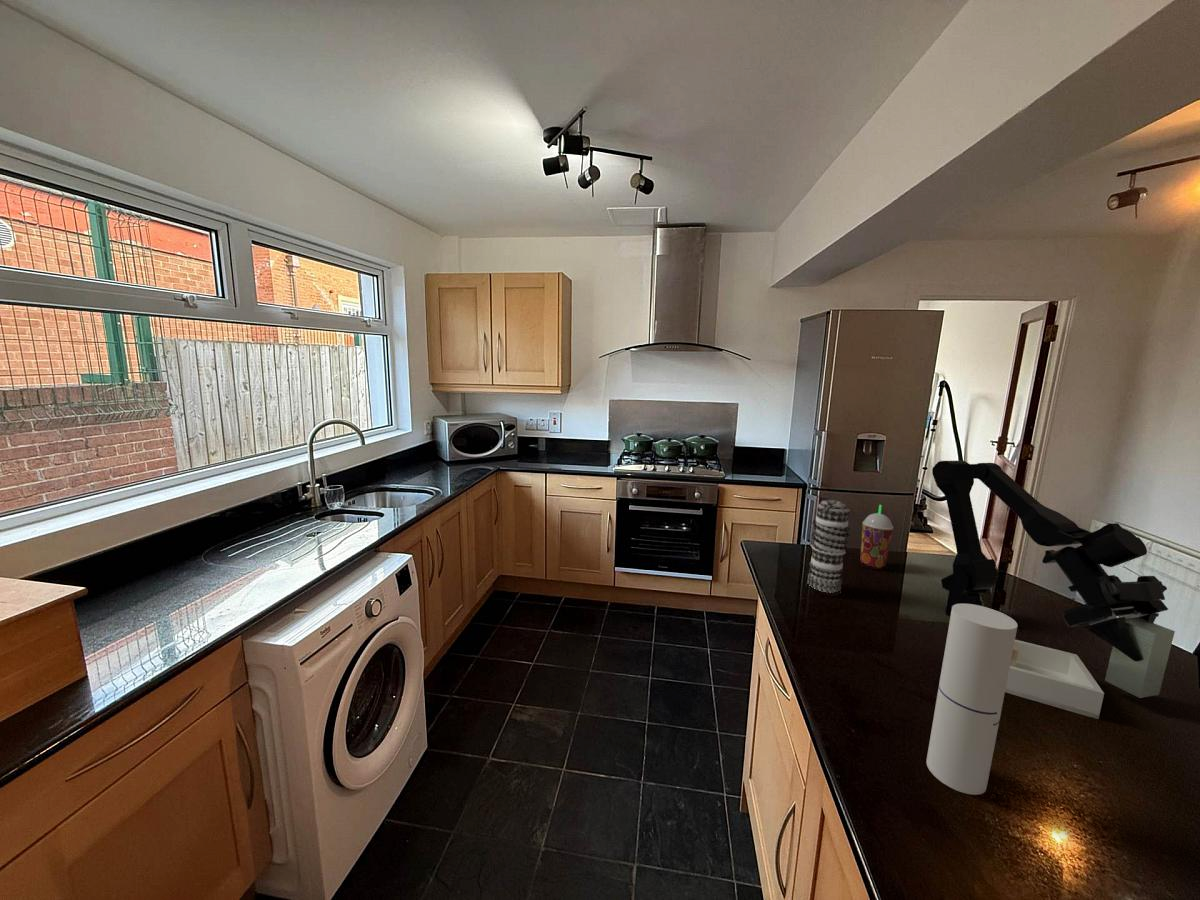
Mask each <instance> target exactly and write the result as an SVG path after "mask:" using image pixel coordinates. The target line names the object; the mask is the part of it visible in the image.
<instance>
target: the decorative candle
mask: <svg viewBox="0 0 1200 900" xmlns="http://www.w3.org/2000/svg"><path fill="white" fill-rule="evenodd" d="M816 507H817V512H816V513H817V514H816V516H815V519H814V520H813V521H812V525H813V527H812V530H811V531H812V534H811V538H812V540H811V549H812V555H811V557H810V558H811V559H810V562H809V563H808V564H809V568H808V572H809V573H808V574H807V580H806V582H807V584H809V586H811V587H812V588H814V589H816V590H819V591H821V592H826V593H828V592H829V593H834V592H838V591H840V592H841V589H842V584H843V580H842V578H843V576H844V575H843V572H844V567H843V566H844V562H843V561H844V560H843V559H844V555H845V554H846V552H847V551H846V549H847V548H848V547H847V546H846V545H847V544H848V542H849V541H848V540H847V539H846V538H848V537H849V536H850V534H849V533H848V532H850V530H851V529H850V527H849V515H850V514H849V513H850V511H851V509H850V508H849V507H848V506H847V504H846V503H845V502H844V501H840V500H835V499H823V500H822V501H820V502H819V503H817V504H816Z"/></svg>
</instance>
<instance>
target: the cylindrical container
mask: <svg viewBox="0 0 1200 900" xmlns="http://www.w3.org/2000/svg"><path fill="white" fill-rule="evenodd" d="M948 623H949V624H948V631H947V635H946V642H945V648H944V655H943V659H942V664H941V665H942V666H941V672H940V677H939V684H938V690H937V694H936V701H935V708H934V713H933V718H932V719H933V720H932V726H931V732H930V738H929V744H928V750H927V755H926V766H927V768H928V770H929V772H930V773H931V774H932V775H933V776H934V777H935V778H936V779H937V780H938V781H940V782H941V783H942V784H944V785H945V786H948V787H949V788H951V789H952V790H955V791H957V792H960V793H963V794H967V795H971V796H972V795H973V796H977V795H982V794H984V793H985V792H986V791H987V786H988V782H989V776H990V772H991V767H992V761H993V755H994V751H995V746H996V741H997V737H998V736H997V735H998V731H999V725H1000V720H1001V716H1002V715H1001V714H1002V710H1003V704H1004V698H1005V693H1006V692H1005V689H1006V684H1007V678H1008V673H1009V668H1010V663H1011V658H1012V652H1013V647H1014V642H1015V640H1016V636H1017V632H1018V623H1017V622H1016V620H1014V619H1013V618H1012V617H1010V616H1009V615H1007V614H1005V613H1002V612H1001V611H998V610H995V609H992V608H989V607H987V606H983V605H982V606H979V605H973V604H955V605H953V606H952V611H951V616H950V617H949V622H948Z"/></svg>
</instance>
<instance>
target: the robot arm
mask: <svg viewBox="0 0 1200 900" xmlns="http://www.w3.org/2000/svg"><path fill="white" fill-rule="evenodd" d="M931 472H932V473H931V474H932V476H933V479H934V482H935V485H936V487H937V488H938V489H939V490H940V491H941V493H942V494H943V495H944V496H945V499H946V500H945V501H946V505H947V509H948V514H949V520H950V524H951V525H950V526H951V529H952V533H953V534H952V535H953V538H954V544H955V548H956V555H955V557H954V560H953V563H952V574H950V575H948V576H945V577H944V578H941V579H940V581H941V586H942V588H943V589H945V590H946V596H945V602H944V603H943V609H944V614H945V615H947V616H950V617H951V611H952V606H953V605H955V604H973V605H979V606H983V601H982V599H981V594H987V593H988V591H989V590H990V589H993V588H994V586H995V585H996V584H997V582H998V577H1000V574H999V573H998V570H997V563H996V561H995V558H990V559H989V558H987V556H986V555H985V554H984V553H983V551H982V546H981V542H980V536H979V533H978V527H977V523H976V518H975V514H974V509H973V505H972V500H971V492H972V489H973V486H974V483H975V480H977V479H978V480H979V481H980V482H981V483H983V485H984V486H986V487H987V488H988V489H989V490H990V491H991V492H992V493H993V494H995V496H997V498H998V499H1000V500H1001V501H1002V502H1003V503H1004V504H1005V505H1006V506H1007V507H1008V508H1009V509H1011V510H1012V511H1013V512H1014V513H1015V514H1016V515H1017V517H1018V518H1019V519H1020V522H1021V525H1022V528H1023V530H1024V531H1025V532H1026V534H1027V535H1028V536H1029V537H1030V538H1031V540H1032V541H1033V542H1034V543H1036V544H1037V545H1039V546H1042V547H1059V546H1060V547H1062V546H1065V547H1063V548H1060V549H1057V550H1054V549H1049V550H1045V551H1044V552H1045V554H1044V556H1043V558H1042V560H1041V562H1042V563H1043V564H1054V563H1056V564H1057V565H1058V568H1060V570H1061V571H1062V572H1063V574H1064V575H1065V577H1066V578H1067V580H1068V581H1069V582H1070V583H1071V585H1069V586H1067V587H1068V590H1070V592H1071V593H1074V592H1077V593H1078V595H1079V596H1080V598H1081V599H1082V600H1083V602H1084V604H1081V605H1078V606H1075V607H1072V608H1069V609H1065V610H1063V612H1062V619H1063V621H1064V622H1065V623H1066V625H1067V626H1068V628H1071V627H1079V626H1082V624H1084V623H1085V624H1086V623H1088V625H1085V626H1083V627H1082V628H1083V630H1085V631H1086V630H1087V631H1089V632H1090V633H1092V634H1094V635H1095V636H1097V637H1098V638H1100V639H1101V640H1103V641H1105V642H1106V643H1108V644H1109V645H1110V646H1112V647H1113V646H1114V647H1115V648H1116V649H1118V650H1119V651H1121V652H1122V653H1124V654H1125V655H1127V656H1128V657H1129V658H1131V659H1132V660H1134V661H1141V660H1142V657H1141V656H1140V654H1139V652H1138V650H1137V648H1136V647H1135V645H1134V644H1133V642H1132V640H1131V639H1130V637H1129V636H1128V634H1127V632H1126V631H1125V629H1124V625H1125V619H1127V618H1135V617H1139V618H1141V619H1144V620H1146V621H1149V622H1152V623H1154V624H1155V621H1156V619H1157V618H1158V617H1159V615H1160V614H1159V613H1161V612H1165V611H1168V610H1169V608H1168V607H1167V605H1165V603H1164V602H1163V601H1164V600H1166V598H1165V595H1164V593H1165V591H1167V590H1168V587H1167V586H1165V585H1164V584H1163V582H1162V581H1160V580H1159V579H1158V578H1157V577H1156V576H1155V575H1142V576H1138V577H1137V579H1136V581H1122V580H1121V578H1120V577H1118V576H1116V575H1115V574H1112V575H1109V574H1108V573H1107V572H1106V570H1105V569H1104V567H1103V566H1105V567H1107V568H1114V567H1116V566H1120V565H1122V564H1124V563H1127V562H1130V561H1133V560H1135V559H1138V558H1140V557H1143V556H1146V555H1147V554H1148V549H1147V547H1146V545H1145V543H1144V542H1143V540H1142V539H1141V538H1140V537H1139V536H1136V535H1135V534H1134V533H1132V531H1129V530H1127V529H1125V528H1123V527H1122V526H1121V525H1120V524H1119V523H1116V522H1115V523H1107V524H1105V525H1103V526H1102V527H1100V528H1099V529H1097V530H1095V531H1090V530H1087V529H1084V528H1082V527H1079V526H1078V524H1077V523H1076V522H1074V521H1073V520H1072V519H1070V518H1068V517H1067V516H1065V515H1064V514H1062V513H1061V512H1058V511H1056V510H1054V509H1051V508H1049V507H1047V506H1045V505H1044V504H1042V503H1041V502H1039V500H1038V499H1036V498H1035V497H1033V495H1031V494H1030V493H1029V492H1028V491H1027V490H1026V489H1025V488H1023V487H1022V486H1021V485H1020V484H1019V483H1017V482H1016V480H1014V479H1013V477H1011V476H1010V475H1008V474H1007V473H1006V472H1005V471H1004V470H1003V469H1002V467H1001V465H999V464H997V463H995V462H978V463H969V462H967V461H966V460H940V461H937V462H936V463H935V465H934V466H932V470H931ZM974 479H975V480H974ZM1077 544H1080V545H1079V546H1077V547H1074V546H1070V545H1077Z"/></svg>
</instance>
